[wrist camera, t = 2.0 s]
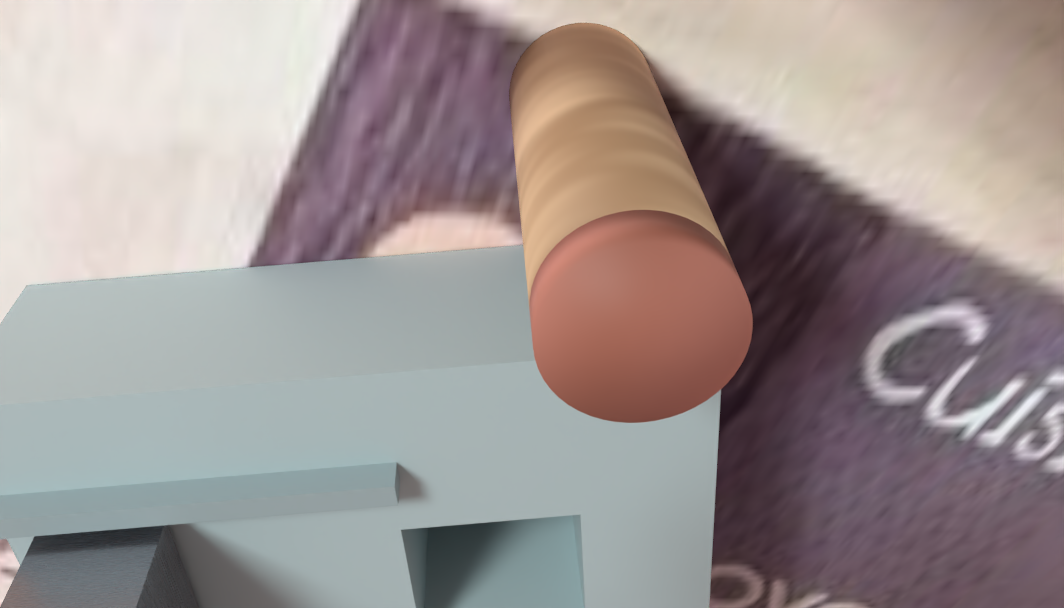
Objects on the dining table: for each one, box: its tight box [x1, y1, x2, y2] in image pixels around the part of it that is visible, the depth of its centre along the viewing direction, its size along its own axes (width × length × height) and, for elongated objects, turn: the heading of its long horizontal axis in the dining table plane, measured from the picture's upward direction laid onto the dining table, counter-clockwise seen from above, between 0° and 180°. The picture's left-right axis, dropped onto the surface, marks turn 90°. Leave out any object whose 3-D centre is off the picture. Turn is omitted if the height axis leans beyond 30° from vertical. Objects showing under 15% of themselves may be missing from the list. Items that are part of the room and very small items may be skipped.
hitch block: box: [0, 245, 721, 608], centre depth 27 cm, size 17×14×6 cm
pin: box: [509, 23, 753, 423], centre depth 20 cm, size 3×3×10 cm
